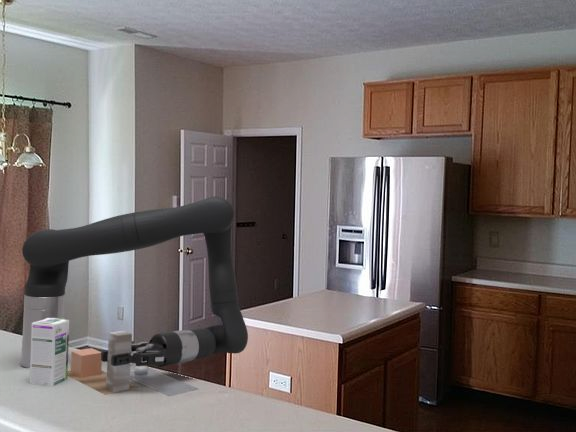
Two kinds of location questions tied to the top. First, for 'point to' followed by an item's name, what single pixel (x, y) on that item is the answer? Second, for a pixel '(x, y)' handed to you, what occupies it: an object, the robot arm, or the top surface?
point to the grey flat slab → (159, 381)
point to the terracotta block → (86, 362)
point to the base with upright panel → (112, 367)
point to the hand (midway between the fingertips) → (107, 358)
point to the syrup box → (49, 351)
